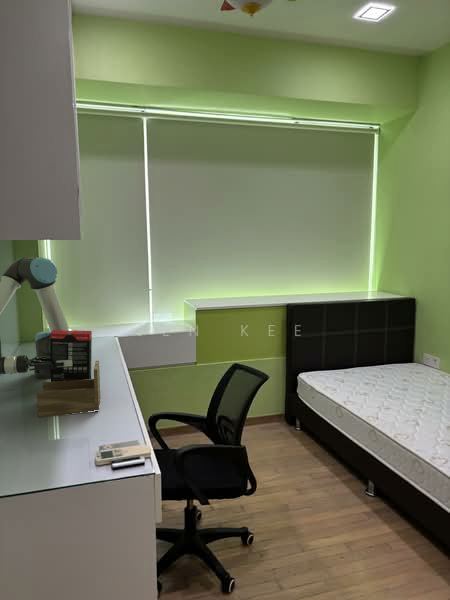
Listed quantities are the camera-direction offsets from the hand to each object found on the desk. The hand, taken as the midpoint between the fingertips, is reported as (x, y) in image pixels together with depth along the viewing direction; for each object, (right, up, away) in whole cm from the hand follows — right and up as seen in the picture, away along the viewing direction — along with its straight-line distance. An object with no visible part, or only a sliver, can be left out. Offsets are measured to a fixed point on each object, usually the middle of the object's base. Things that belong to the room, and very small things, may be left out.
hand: (72, 360), depth 191 cm
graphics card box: (-2, -13, +3) cm, 14 cm away
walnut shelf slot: (+2, -19, -11) cm, 22 cm away
